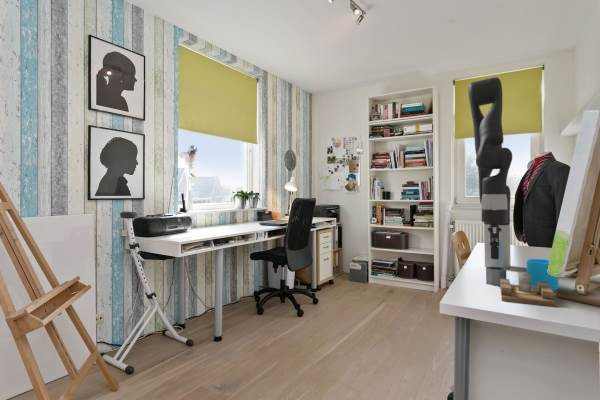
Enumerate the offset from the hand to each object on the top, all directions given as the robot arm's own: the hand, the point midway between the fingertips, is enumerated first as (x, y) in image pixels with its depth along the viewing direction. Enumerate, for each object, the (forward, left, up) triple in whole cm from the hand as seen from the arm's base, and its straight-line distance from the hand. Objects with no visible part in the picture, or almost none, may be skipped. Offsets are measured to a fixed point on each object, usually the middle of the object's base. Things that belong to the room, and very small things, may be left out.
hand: (494, 257), depth 115 cm
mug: (-3, +13, -9) cm, 16 cm away
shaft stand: (+13, +7, -9) cm, 17 cm away
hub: (0, 0, -9) cm, 9 cm away
